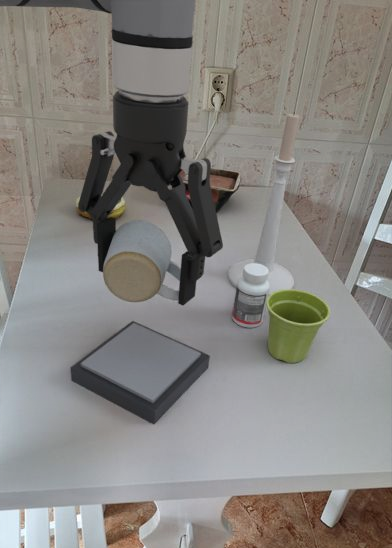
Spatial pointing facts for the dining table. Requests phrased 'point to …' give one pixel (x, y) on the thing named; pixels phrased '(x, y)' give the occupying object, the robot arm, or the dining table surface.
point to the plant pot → (294, 323)
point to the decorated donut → (116, 212)
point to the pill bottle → (251, 296)
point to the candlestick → (273, 218)
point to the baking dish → (219, 185)
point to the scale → (140, 370)
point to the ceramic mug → (139, 263)
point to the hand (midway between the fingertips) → (145, 283)
